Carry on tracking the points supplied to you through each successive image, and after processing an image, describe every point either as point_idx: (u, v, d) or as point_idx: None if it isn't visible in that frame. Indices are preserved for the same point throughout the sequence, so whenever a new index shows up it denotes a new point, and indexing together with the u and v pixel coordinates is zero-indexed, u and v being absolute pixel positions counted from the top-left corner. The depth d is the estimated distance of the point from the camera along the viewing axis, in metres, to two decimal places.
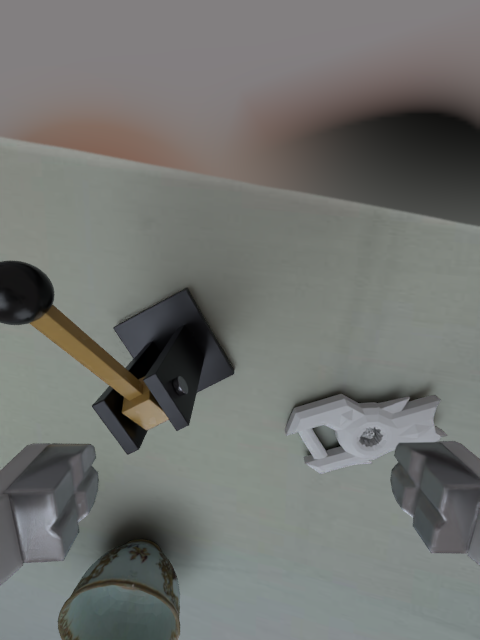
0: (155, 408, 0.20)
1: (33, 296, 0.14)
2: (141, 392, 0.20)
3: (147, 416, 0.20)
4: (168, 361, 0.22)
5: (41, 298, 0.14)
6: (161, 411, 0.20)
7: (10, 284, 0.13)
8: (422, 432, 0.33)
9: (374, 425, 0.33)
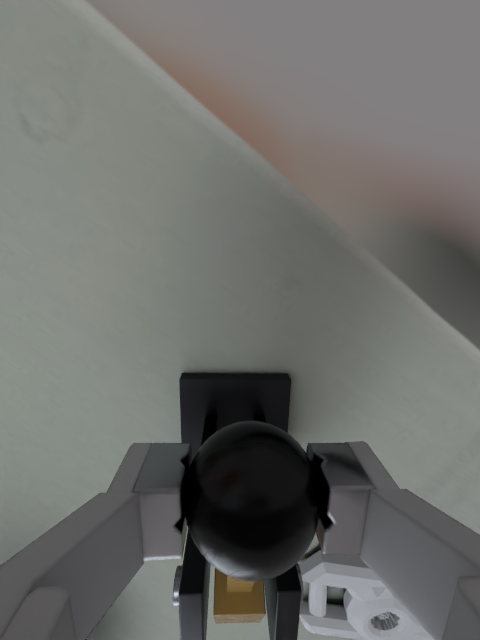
0: (257, 617, 0.13)
1: None
2: (252, 589, 0.12)
3: (237, 619, 0.13)
4: None
5: None
6: (259, 619, 0.13)
7: (303, 537, 0.06)
8: None
9: (397, 612, 0.28)
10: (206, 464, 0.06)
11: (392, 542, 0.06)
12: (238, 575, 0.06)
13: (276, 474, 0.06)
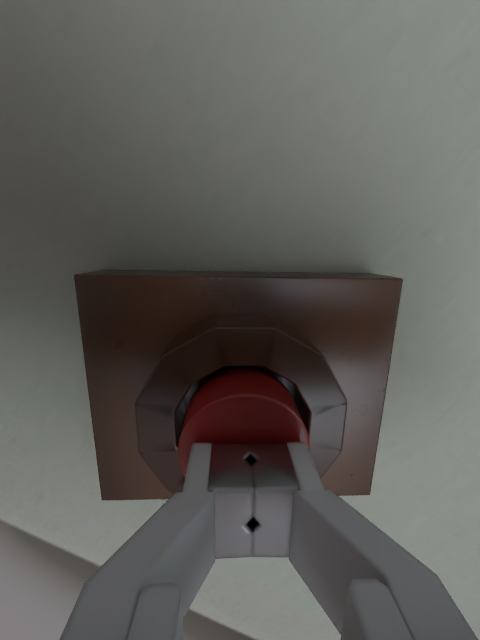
0: None
1: None
2: None
3: None
4: None
5: None
6: None
7: None
8: None
9: None
10: None
11: (312, 544, 0.05)
12: None
13: None
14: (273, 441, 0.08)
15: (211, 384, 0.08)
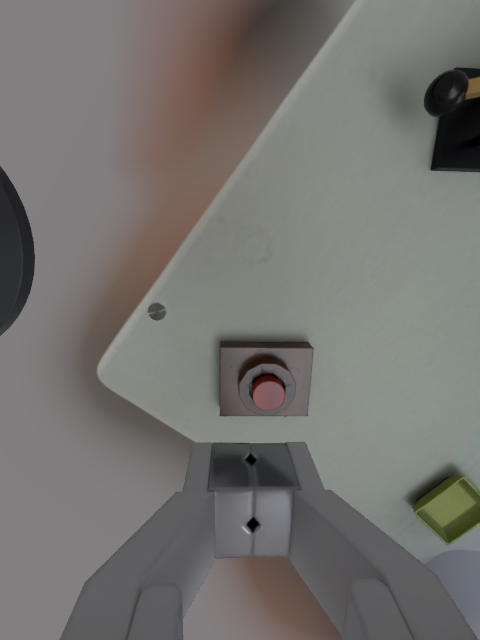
0: None
1: (453, 70, 0.23)
2: None
3: None
4: None
5: (458, 70, 0.23)
6: None
7: (438, 77, 0.24)
8: None
9: None
10: (427, 111, 0.26)
11: (312, 544, 0.05)
12: (443, 91, 0.23)
13: None
14: (276, 392, 0.31)
15: (260, 378, 0.32)
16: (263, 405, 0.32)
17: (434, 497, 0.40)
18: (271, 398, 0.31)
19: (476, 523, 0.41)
